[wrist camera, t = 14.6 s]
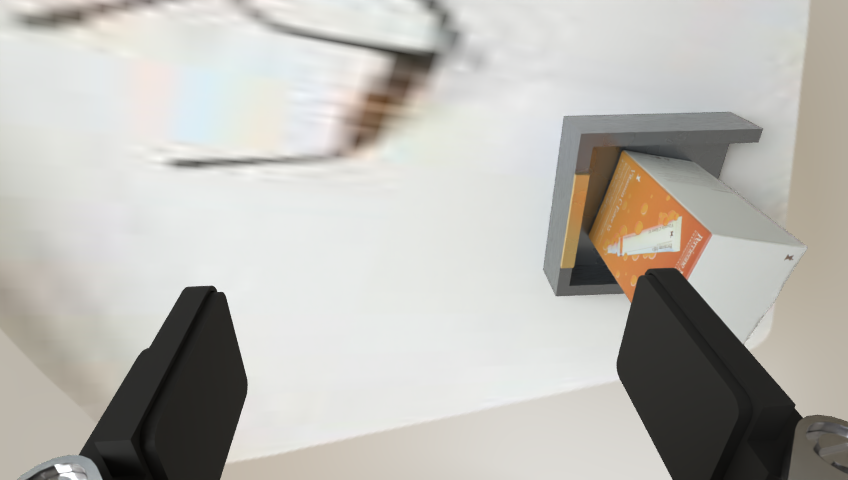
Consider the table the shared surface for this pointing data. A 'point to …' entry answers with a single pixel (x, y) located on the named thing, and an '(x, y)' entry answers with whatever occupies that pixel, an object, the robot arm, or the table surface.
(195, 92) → the table surface
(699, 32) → the table surface
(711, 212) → the small box
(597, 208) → the cradle
